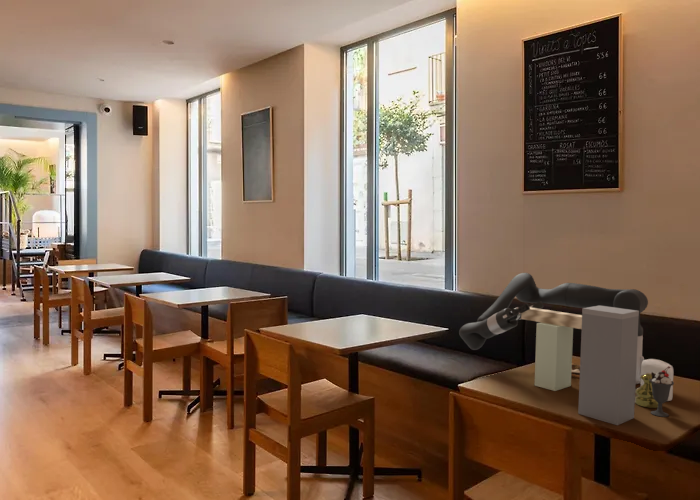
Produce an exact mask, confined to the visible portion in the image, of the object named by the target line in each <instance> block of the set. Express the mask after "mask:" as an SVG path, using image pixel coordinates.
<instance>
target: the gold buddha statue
mask: <svg viewBox="0 0 700 500" xmlns="http://www.w3.org/2000/svg"><path fill="white" fill-rule="evenodd" d="M640 378H641V379H642V380H643V381H644V384H643V385H641V384H640V386H638V387H635V404H636V405H637V406H640V407H644V408H649V409H657V408H658V402H657V401H655V399H654V398H653V394H652V384H651V381H649V380H650V379H652V375H651V373H646V374H643V375H641V376H640Z"/></svg>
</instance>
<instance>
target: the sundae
mask: <svg viewBox="0 0 700 500" xmlns="http://www.w3.org/2000/svg"><path fill="white" fill-rule="evenodd" d="M669 368H670V367H669V366H668V369H669ZM666 369H667V368H666ZM666 369H665V370H666ZM668 369H667V370H668ZM665 370H662V372H658V373H656V374H654V373H651V375H652V379H650V380H649V381H651V384H652V394H653V398H654V399H655V401H657V402H658V408H656V410H651V411H650V414H651V415H652V416H656V417H661V418H667V417H669V416H670V415H669V413H667V412H664V410H663V404H665V403H666V402H668V401H667V400H668V397H669V393H670V388H671V386H672V385H673V386H674V384H675V382H674V380H673V381H671V379H670V378H669V377H668V376H669V374H667V370H666V371H665Z"/></svg>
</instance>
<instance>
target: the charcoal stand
mask: <svg viewBox="0 0 700 500" xmlns="http://www.w3.org/2000/svg"><path fill="white" fill-rule="evenodd" d="M581 309H582V311H581V312H582V313H581V315H582V329H581V335H580V336H581V337H580V339H581V340H580V357H579V359H580V360H579V366H580V378H579V383H578V386H579V388H578V391H579V392H578V406H577V407H578V411H577V414H579V415H580V416H584V417H588V418H592V419H595V420H597V421H598V420H599V421H601V422H605V423H608V424H612V425H615V426H619V425H621V424H623V423H626V422H629V421H631V420H633V419H635V404H636V403H635V396H636V393H635V390H636V385H637V384H636V363H637V341H638V319H639V311H637V310H629V309H622V308H615V307H607V306H600V305H599V306H593V307H587V308H581Z"/></svg>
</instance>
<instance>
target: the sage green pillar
mask: <svg viewBox="0 0 700 500" xmlns="http://www.w3.org/2000/svg"><path fill="white" fill-rule="evenodd" d="M535 336H536V337H535V362H534V386H535V387H540V388H541V389H542V388H543V389H546V390H551V391H553V392H556V391H559V390H562V389H566V388H568V387H571V385H572V377H571V370H572V364H573V343H574V340H573V339H574V328H571V327H565V326H560V325H554V324H548V323H542V322H536V333H535Z"/></svg>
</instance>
